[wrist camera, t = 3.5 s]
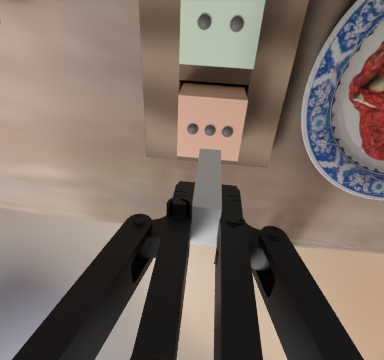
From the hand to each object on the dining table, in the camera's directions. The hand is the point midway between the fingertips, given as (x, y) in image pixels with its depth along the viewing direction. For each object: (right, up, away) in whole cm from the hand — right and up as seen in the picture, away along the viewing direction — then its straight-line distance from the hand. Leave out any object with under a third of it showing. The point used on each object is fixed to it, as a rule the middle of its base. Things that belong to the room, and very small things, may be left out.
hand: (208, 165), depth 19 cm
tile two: (+1, +13, +4) cm, 14 cm away
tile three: (+1, +6, +9) cm, 11 cm away
